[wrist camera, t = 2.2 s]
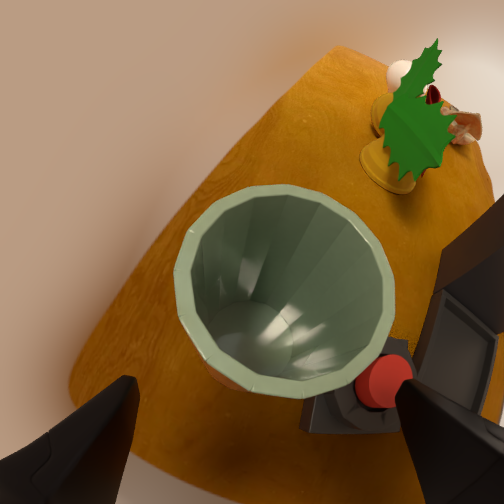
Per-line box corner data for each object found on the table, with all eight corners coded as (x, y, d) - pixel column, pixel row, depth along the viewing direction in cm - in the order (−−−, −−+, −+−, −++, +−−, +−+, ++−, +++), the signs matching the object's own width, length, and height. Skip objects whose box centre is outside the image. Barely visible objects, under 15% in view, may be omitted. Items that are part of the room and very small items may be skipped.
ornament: (389, 239, 30) (498, 220, 16) (336, 206, 28) (451, 161, 14) (407, 118, 34) (477, 78, 20) (365, 86, 32) (433, 31, 18)
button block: (383, 430, 16) (415, 433, 12) (298, 428, 16) (318, 437, 12) (392, 345, 19) (423, 334, 16) (313, 334, 19) (335, 321, 16)
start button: (394, 407, 14) (410, 407, 12) (351, 407, 14) (365, 408, 12) (398, 360, 15) (414, 355, 14) (357, 356, 15) (371, 351, 14)
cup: (288, 398, 17) (390, 403, 6) (188, 379, 17) (144, 365, 6) (302, 307, 20) (389, 212, 10) (211, 287, 20) (211, 166, 9)
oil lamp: (429, 141, 35) (457, 96, 26) (435, 105, 45) (454, 73, 36) (468, 172, 34) (499, 132, 25) (465, 128, 43) (485, 98, 34)
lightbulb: (376, 103, 38) (400, 51, 28) (408, 124, 36) (436, 73, 27) (363, 112, 35) (389, 53, 25) (398, 136, 34) (431, 79, 24)
